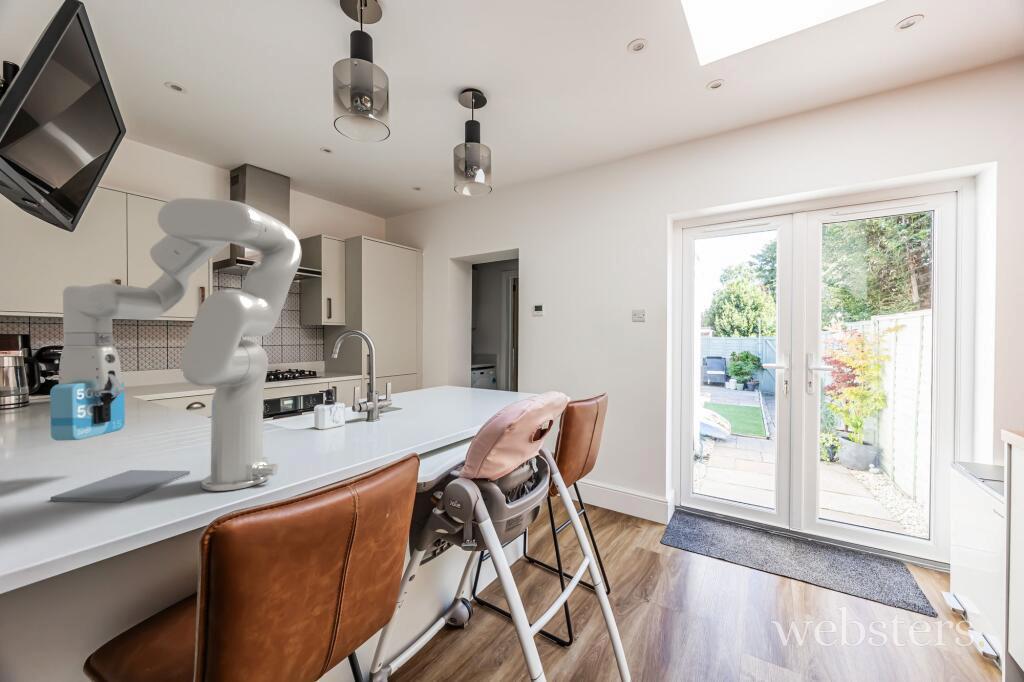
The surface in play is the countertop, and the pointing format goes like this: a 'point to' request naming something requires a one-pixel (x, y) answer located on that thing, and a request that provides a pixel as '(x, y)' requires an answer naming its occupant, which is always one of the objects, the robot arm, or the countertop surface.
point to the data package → (81, 412)
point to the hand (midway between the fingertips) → (90, 421)
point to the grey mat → (121, 486)
